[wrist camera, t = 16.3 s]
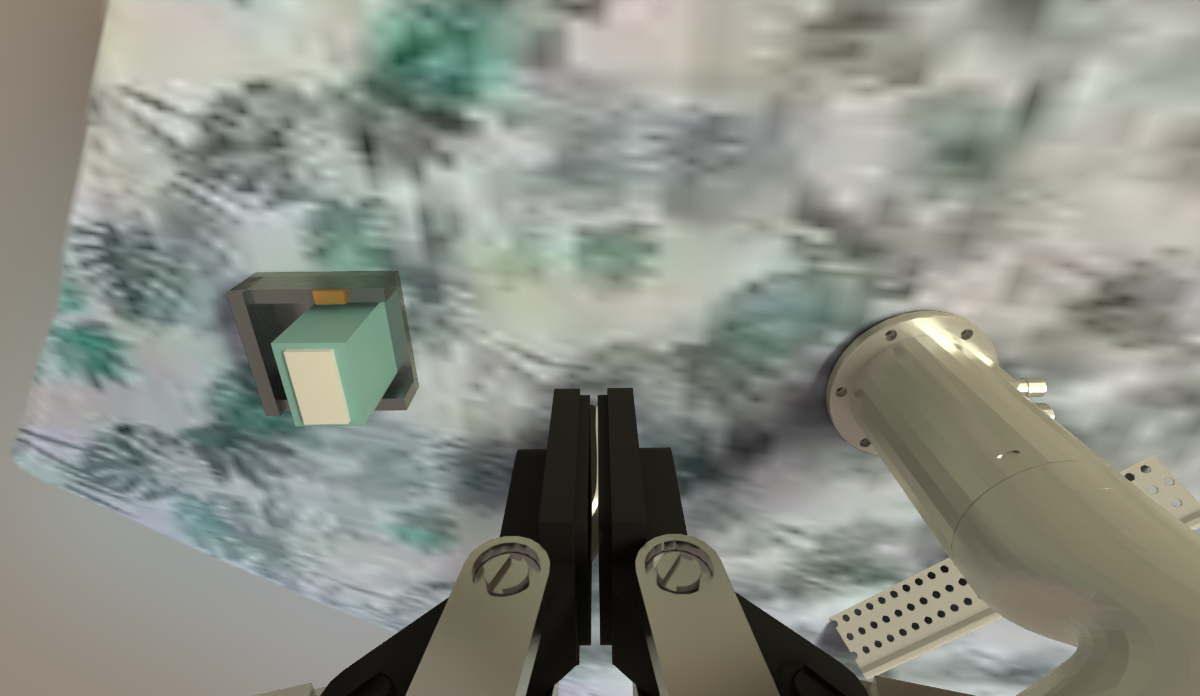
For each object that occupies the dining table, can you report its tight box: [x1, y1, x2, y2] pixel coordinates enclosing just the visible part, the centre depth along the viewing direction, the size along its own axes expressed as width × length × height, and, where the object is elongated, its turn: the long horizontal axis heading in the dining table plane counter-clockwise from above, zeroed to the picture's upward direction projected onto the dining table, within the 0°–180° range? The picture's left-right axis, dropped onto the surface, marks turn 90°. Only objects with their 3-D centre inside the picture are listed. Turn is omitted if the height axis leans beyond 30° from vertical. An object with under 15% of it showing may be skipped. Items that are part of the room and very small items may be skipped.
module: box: [271, 302, 397, 426], centre depth 40 cm, size 4×6×7 cm
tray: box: [226, 271, 419, 416], centre depth 42 cm, size 10×10×4 cm
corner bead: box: [830, 455, 1200, 680], centre depth 54 cm, size 31×9×5 cm, turn 130°
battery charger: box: [590, 405, 599, 561], centre depth 43 cm, size 7×4×11 cm, turn 148°
